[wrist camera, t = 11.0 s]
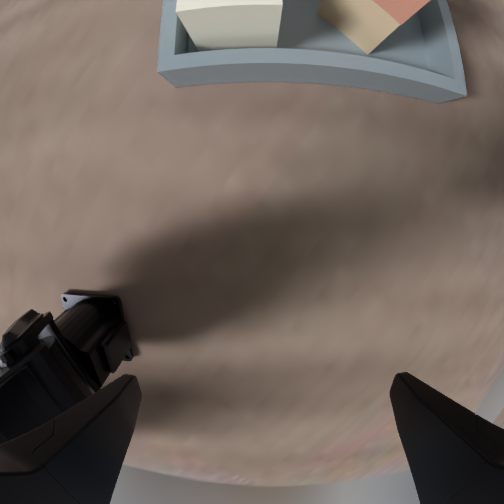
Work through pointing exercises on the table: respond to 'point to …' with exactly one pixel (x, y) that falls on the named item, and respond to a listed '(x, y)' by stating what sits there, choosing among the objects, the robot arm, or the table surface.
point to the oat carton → (368, 18)
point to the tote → (326, 55)
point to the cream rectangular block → (231, 23)
